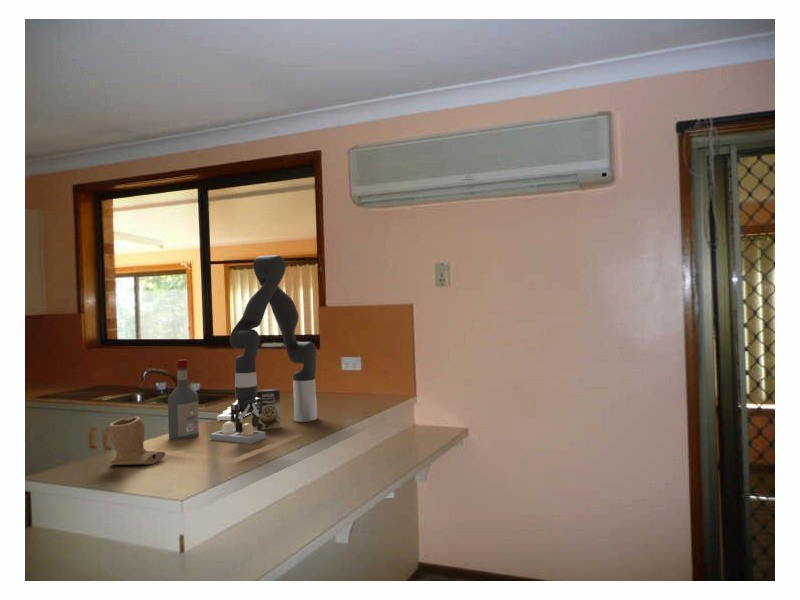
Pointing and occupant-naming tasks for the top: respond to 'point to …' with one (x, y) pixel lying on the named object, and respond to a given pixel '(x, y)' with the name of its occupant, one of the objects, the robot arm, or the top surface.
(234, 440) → the egg carton
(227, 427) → the cream egg
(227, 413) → the holder
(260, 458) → the top surface
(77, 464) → the top surface
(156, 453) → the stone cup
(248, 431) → the brown egg
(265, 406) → the coffee box
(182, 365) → the liquor
